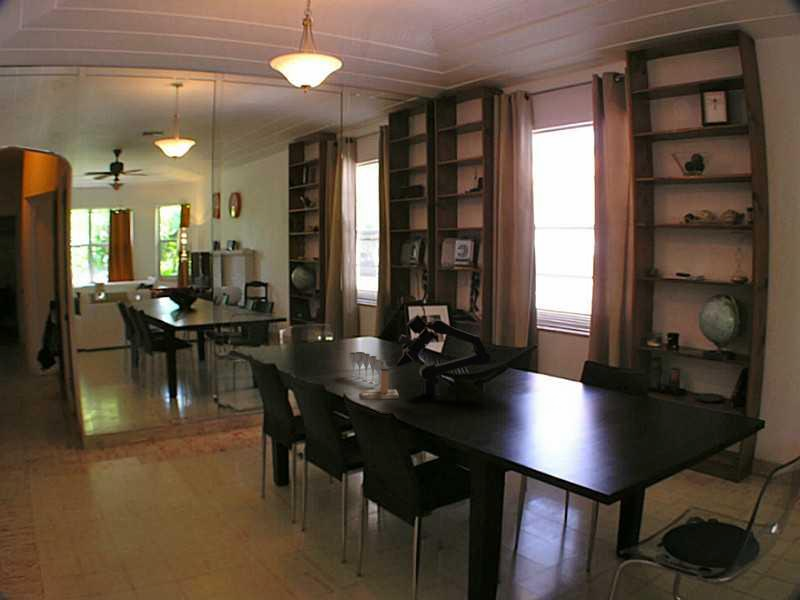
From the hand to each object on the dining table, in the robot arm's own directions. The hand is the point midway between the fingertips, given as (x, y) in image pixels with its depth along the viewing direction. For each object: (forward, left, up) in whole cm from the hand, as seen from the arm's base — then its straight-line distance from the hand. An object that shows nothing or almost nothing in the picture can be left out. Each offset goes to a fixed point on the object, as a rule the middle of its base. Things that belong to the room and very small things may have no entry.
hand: (397, 365), depth 270 cm
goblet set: (+29, -13, -14) cm, 35 cm away
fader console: (+5, +5, -14) cm, 16 cm away
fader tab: (+4, +4, -12) cm, 13 cm away
